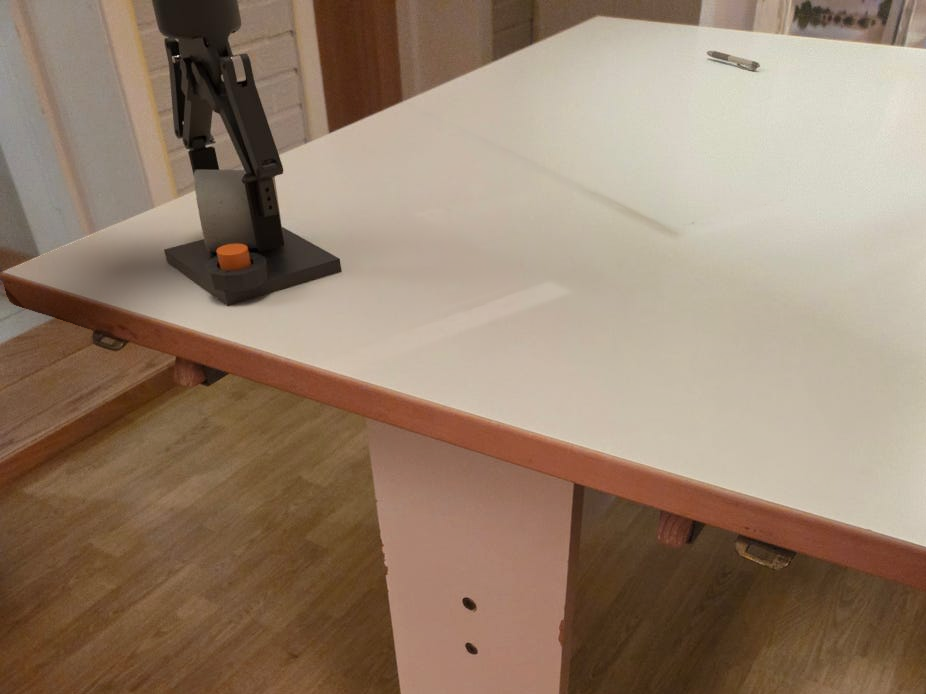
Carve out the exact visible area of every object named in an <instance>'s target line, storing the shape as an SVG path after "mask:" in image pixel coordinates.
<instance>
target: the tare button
mask: <svg viewBox="0 0 926 694" xmlns="http://www.w3.org/2000/svg"><path fill="white" fill-rule="evenodd" d="M217 256H218V260H219V264H220V269H222V270H228V271H229V270H240V269H243V268H247V267H249V266H251V261H250V256H249V251H248V247H247V246H246V245H244V244H237V243H235V244H227V245H224V246H221V247H219V248H218V249H217Z"/></svg>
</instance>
